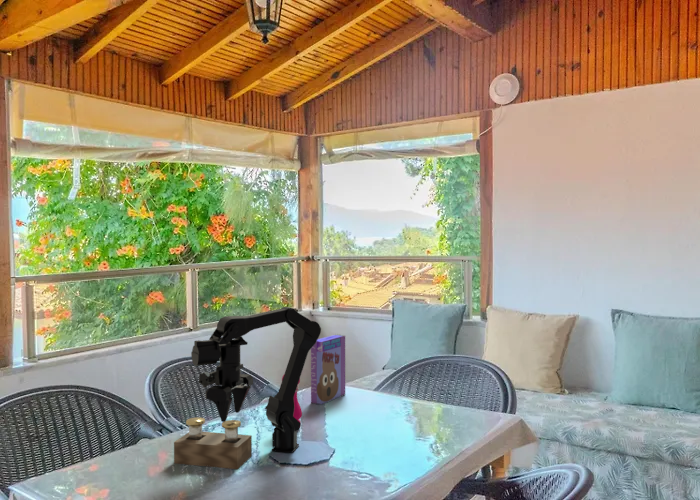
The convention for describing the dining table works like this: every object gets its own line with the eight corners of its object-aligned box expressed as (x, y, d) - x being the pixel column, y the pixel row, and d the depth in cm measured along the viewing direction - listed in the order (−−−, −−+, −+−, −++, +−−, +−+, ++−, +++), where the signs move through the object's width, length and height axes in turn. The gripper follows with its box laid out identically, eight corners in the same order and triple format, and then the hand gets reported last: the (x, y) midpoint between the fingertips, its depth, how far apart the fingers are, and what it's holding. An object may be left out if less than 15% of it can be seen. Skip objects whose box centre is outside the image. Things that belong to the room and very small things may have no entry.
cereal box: (321, 404, 225) (321, 341, 225) (311, 403, 228) (311, 340, 227) (345, 394, 240) (345, 335, 240) (335, 392, 243) (335, 334, 242)
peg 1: (208, 440, 172) (208, 418, 172) (199, 446, 167) (199, 423, 167) (191, 438, 173) (191, 416, 173) (182, 444, 168) (182, 422, 168)
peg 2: (243, 443, 170) (243, 420, 170) (236, 449, 165) (236, 426, 165) (226, 441, 171) (226, 419, 171) (218, 447, 166) (218, 425, 166)
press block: (251, 456, 172) (251, 435, 172) (237, 469, 162) (237, 447, 162) (191, 450, 176) (191, 430, 176) (174, 463, 166) (173, 441, 166)
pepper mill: (298, 431, 194) (298, 370, 194) (277, 429, 196) (277, 369, 195) (304, 424, 201) (304, 365, 201) (284, 423, 203) (283, 364, 202)
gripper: (219, 354, 179) (219, 405, 179) (187, 367, 161) (187, 424, 161) (253, 355, 176) (254, 408, 176) (225, 369, 158) (225, 427, 158)
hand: (230, 416), depth 168 cm, fingers open, 8 cm apart
